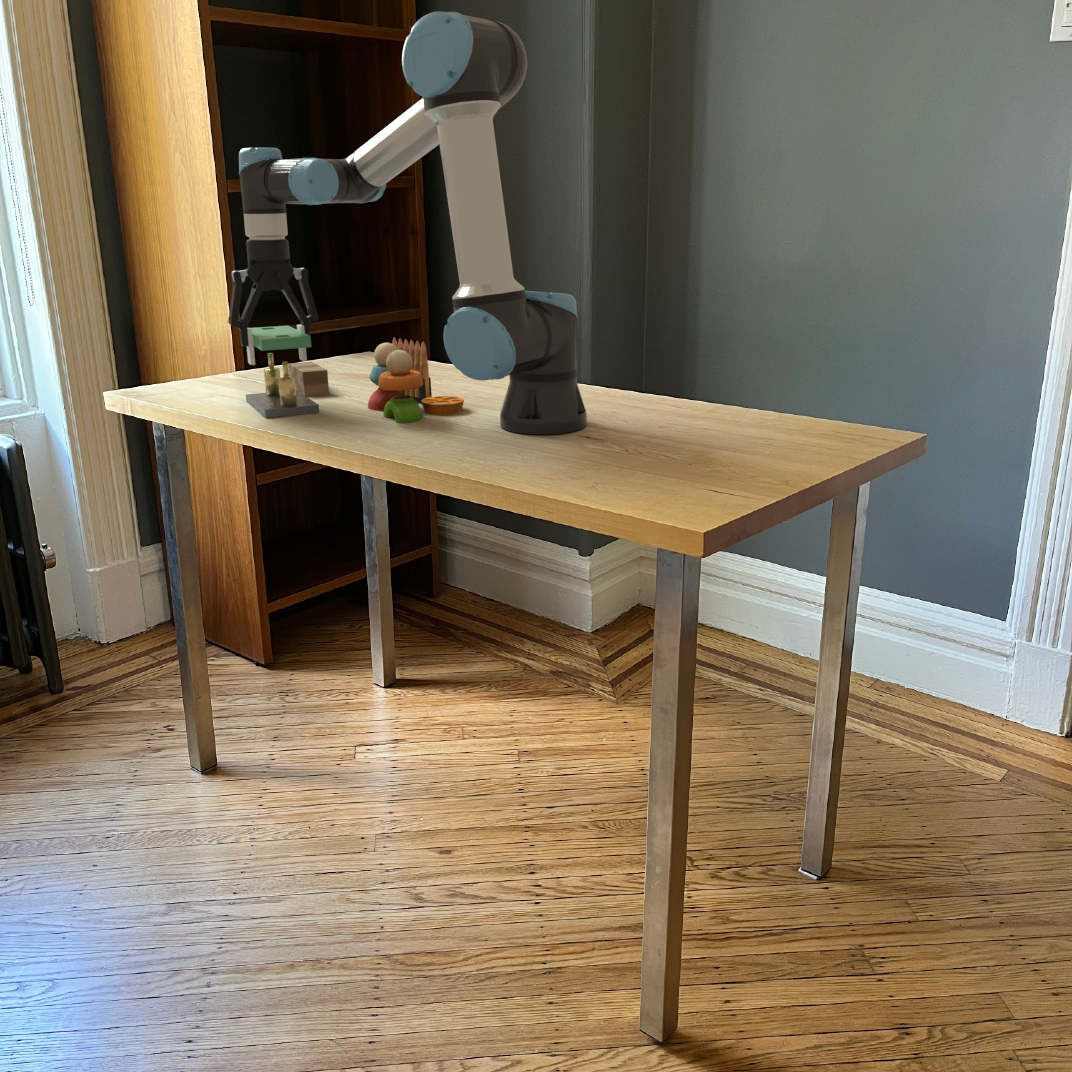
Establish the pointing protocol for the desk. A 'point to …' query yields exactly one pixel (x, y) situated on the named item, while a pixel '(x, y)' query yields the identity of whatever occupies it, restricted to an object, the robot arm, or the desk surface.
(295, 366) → the stand
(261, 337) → the board
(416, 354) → the ammunition clip
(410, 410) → the colourful wooden toy set
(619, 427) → the desk surface
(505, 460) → the desk surface
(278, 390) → the chassis
